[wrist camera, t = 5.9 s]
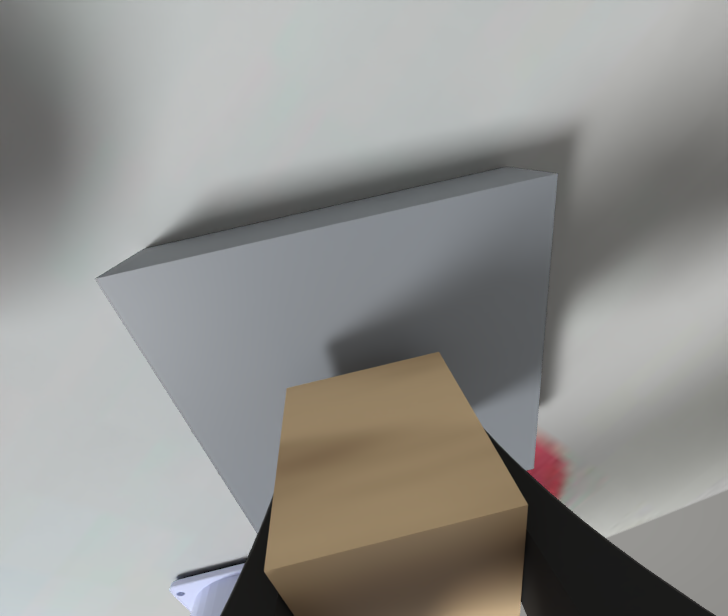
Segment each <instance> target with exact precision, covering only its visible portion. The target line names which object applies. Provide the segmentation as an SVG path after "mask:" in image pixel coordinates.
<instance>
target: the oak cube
mask: <svg viewBox="0 0 728 616" xmlns="http://www.w3.org/2000/svg"><path fill="white" fill-rule="evenodd" d="M527 512H528V504H527V502H526V500H525V499H524V497H523V495H522V493H521V492H520V490H519V488H518V487H517V485H516V483H515V481H514V480H513V478H512V476H511V475H510V473H509V471H508V469H507V468H506V466H505V464H504V463H503V461H502V459H501V457H500V456H499V454H498V452H497V451H496V449H495V447H494V445H493V444H492V442H491V440H490V438H489V437H488V435H487V433H486V432H485V430H484V428H483V426H482V425H481V423H480V421H479V420H478V418H477V416H476V414H475V413H474V411H473V409H472V408H471V406H470V404H469V402H468V401H467V399H466V397H465V396H464V394H463V392H462V390H461V389H460V387H459V385H458V384H457V382H456V380H455V378H454V377H453V375H452V373H451V372H450V370H449V368H448V366H447V365H446V363H445V361H444V359H443V358H442V356H441V354H440V353H439V352H436V353H431V354H427V355H423V356H419V357H415V358H411V359H406V360H402V361H398V362H394V363H390V364H385V365H381V366H377V367H373V368H369V369H365V370H360V371H356V372H352V373H348V374H344V375H339V376H335V377H331V378H327V379H323V380H319V381H314V382H310V383H306V384H302V385H298V386H294V387H289V388H287V389H286V397H285V405H284V414H283V422H282V430H281V438H280V446H279V454H278V462H277V470H276V478H275V486H274V494H273V502H272V510H271V519H270V527H269V535H268V543H267V551H266V559H265V567H264V572H265V574H266V575H267V577H268V578H269V580H270V581H271V582H272V584H273V585H274V587H275V588H276V590H277V591H278V593H279V594H280V596H281V597H282V598H283V600H284V601H285V603H286V604H287V606H288V607H289V609H290V610H291V612H292V613H293V614H294V616H520V605H521V591H522V578H523V565H524V552H525V539H526V525H527Z"/></svg>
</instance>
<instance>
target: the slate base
mask: <svg viewBox="0 0 728 616" xmlns="http://www.w3.org/2000/svg"><path fill="white" fill-rule="evenodd" d="M557 178H558V173H551V172H544V171H536V170H528V169H520V168H513V167H503V168H499V169H494V170H490V171H485V172H481V173H476V174H472V175H468V176H463V177H459V178H454V179H450V180H446V181H441V182H437V183H432V184H428V185H423V186H419V187H415V188H410V189H406V190H401V191H397V192H393V193H388V194H384V195H379V196H375V197H371V198H366V199H362V200H357V201H353V202H348V203H344V204H340V205H335V206H331V207H326V208H322V209H318V210H313V211H309V212H304V213H300V214H295V215H291V216H287V217H282V218H278V219H273V220H269V221H265V222H260V223H256V224H251V225H247V226H242V227H238V228H234V229H229V230H225V231H220V232H216V233H212V234H207V235H203V236H198V237H194V238H189V239H185V240H181V241H176V242H172V243H167V244H163V245H159V246H154V247H150V248H145V249H143V250H141V251H139V252H138V253H136V254H134V255H133V256H131V257H130V258H128V259H126V260H125V261H123V262H121V263H120V264H118V265H116V266H115V267H113V268H112V269H110V270H108V271H107V272H105V273H103V274H102V275H100V276H99V277H97V278H95V280H96V282H97V283H98V285H99V286H100V288H101V290H102V291H103V293H104V294H105V296H106V297H107V299H108V300H109V302H110V304H111V305H112V307H113V308H114V310H115V311H116V313H117V315H118V316H119V318H120V319H121V321H122V322H123V324H124V326H125V327H126V329H127V330H128V332H129V333H130V335H131V337H132V338H133V340H134V341H135V343H136V344H137V346H138V348H139V349H140V351H141V352H142V354H143V355H144V357H145V358H146V360H147V362H148V363H149V365H150V366H151V368H152V369H153V371H154V373H155V374H156V376H157V377H158V379H159V380H160V382H161V384H162V385H163V387H164V388H165V390H166V391H167V393H168V395H169V396H170V398H171V399H172V401H173V402H174V404H175V406H176V407H177V409H178V410H179V412H180V413H181V415H182V416H183V418H184V420H185V421H186V423H187V424H188V426H189V427H190V429H191V431H192V432H193V434H194V435H195V437H196V438H197V440H198V442H199V443H200V445H201V446H202V448H203V449H204V451H205V453H206V454H207V456H208V457H209V459H210V460H211V462H212V464H213V465H214V467H215V468H216V470H217V471H218V473H219V475H220V476H221V478H222V479H223V481H224V482H225V484H226V485H227V487H228V489H229V490H230V492H231V493H232V495H233V496H234V498H235V500H236V501H237V503H238V504H239V506H240V507H241V509H242V511H243V512H244V514H245V515H246V517H247V518H248V520H249V522H250V523H251V525H252V526H253V528H254V529H255V531H256V533H257V534H258V532H259V529H260V527H261V524H262V522H263V520H264V517H265V515H266V512H267V509H268V507H269V504H270V502H271V499H272V496H273V493H274V486H275V478H276V470H277V462H278V454H279V446H280V438H281V430H282V422H283V414H284V405H285V397H286V389H287V388H289V387H294V386H298V385H302V384H306V383H310V382H314V381H319V380H323V379H327V378H331V377H335V376H339V375H344V374H348V373H352V372H356V371H360V370H365V369H369V368H373V367H377V366H381V365H385V364H390V363H394V362H398V361H402V360H406V359H411V358H415V357H419V356H423V355H427V354H431V353H436V352H439V353H440V354H441V356H442V358H443V359H444V361H445V363H446V365H447V366H448V368H449V370H450V372H451V373H452V375H453V377H454V378H455V380H456V382H457V384H458V385H459V387H460V389H461V390H462V392H463V394H464V396H465V397H466V399H467V401H468V402H469V404H470V406H471V408H472V409H473V411H474V413H475V414H476V416H477V418H478V420H479V421H480V423H481V425H482V426H483V428H484V429H485V430H486V431H487V432H488V433H489V434H490V435H491V436H492V438H493V439H494V440H495V441H496V442H497V443H498V444H499V445H500V446H501V447H502V448H503V449H504V450H505V451H506V452H507V453H508V454H509V455H510V456H511V457H512V458H513V459H514V460H515V461H516V462H517V463H518V464H519V465H520V466H521V467H522V468H524V469H525V470H530V469H534V458H535V446H536V434H537V421H538V409H539V397H540V385H541V373H542V361H543V348H544V336H545V324H546V312H547V300H548V288H549V275H550V263H551V251H552V239H553V227H554V214H555V202H556V190H557Z"/></svg>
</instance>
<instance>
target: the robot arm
mask: <svg viewBox="0 0 728 616" xmlns="http://www.w3.org/2000/svg"><path fill="white" fill-rule="evenodd" d="M484 430H485V429H484ZM485 432H486V433H487V435H488V437H489V438H490V440H491V442H492V444H493V445H494V447H495V449H496V451H497V452H498V454H499V456H500V457H501V459H502V461H503V463H504V464H505V466H506V468H507V469H508V471H509V473H510V475H511V476H512V478H513V480H514V481H515V483H516V485H517V487H518V488H519V490H520V492H521V493H522V495H523V497H524V499H525V500H526V502H527V504H528V512H527V525H526V539H525V552H524V565H523V578H522V591H521V602H522V605H523V607H524V609H525V612H526V614H527V616H716V615H714V614H713V613H711V612H710V611H708V610H706V609H705V608H703V607H702V606H700V605H699V604H697V603H696V602H695V601H693V600H692V599H690V598H689V597H687V596H686V595H684V594H683V593H681V592H680V591H678V590H677V589H676V588H674V587H673V586H671V585H670V584H668V583H667V582H665V581H664V580H662V579H661V578H660V577H658V576H656V575H655V574H654V573H652V572H651V571H649V570H648V569H646V568H645V567H644V566H642V565H641V564H639V563H638V562H637V561H635V560H634V559H633V558H631V557H630V556H629V555H627V554H626V553H625V552H623V551H622V550H620V549H619V548H618V547H616V546H615V545H614V544H612V543H611V542H609V540H607V539H606V538H605V537H603V536H602V535H601V534H599V533H598V532H597V531H596V530H594V529H593V528H592V527H590V526H589V525H588V524H587V523H585V522H584V521H583V520H582V519H581V518H579V517H578V516H577V515H576V514H574V513H573V512H572V511H571V510H570V509H568V508H567V507H566V506H565V505H564V504H563V503H561V502H560V501H559V500H558V499H557V498H556V497H554V496H553V495H552V494H551V493H550V492H549V491H548V490H546V489H545V488H544V487H543V486H542V485H541V484H540V483H539V482H538V481H536V480H535V479H534V478H533V477H532V476H531V475H530V474H529V473H528V472H527V471H526V470H525V469H524V468H522V467H521V466H520V465H519V464H518V463H517V462H516V461H515V460H514V459H513V458H512V457H511V456H510V455H509V454H508V453H507V452H506V451H505V450H504V449H503V448H502V447H501V446H500V445H499V444H498V443H497V442H496V441H495V440H494V439H493V438H492V436H491V435H490V434H489V433H488V432H487V431H486V430H485ZM273 494H274V493H273ZM272 502H273V496H272V499H271V502H270V504H269V507H268V509H267V512H266V515H265V517H264V520H263V522H262V524H261V527H260V529H259V532H258V534H257V537H256V539H255V541H254V544H253V546H252V549H251V551H250V553H249V556H248V558H247V560H246V562H245V563H243V564H239V565H235V566H231V567H227V568H223V569H219V570H215V571H211V572H207V573H203V574H199V575H195V576H191V577H187V578H183V579H179V580H175V581H173V582H172V583H171V586H170V589H169V591H170V592H171V593H172V594H173V595H174V596H175V597H176V598H177V599H178V600H179V601H180V602H181V603H182V604H183V605H184V606H185V607H186V608H187V609H188V610H189V611H190V612H191V615H190V616H294V614H293V613H292V612H291V610H290V609H289V607H288V606H287V604H286V603H285V601H284V600H283V598H282V597H281V596H280V594H279V593H278V591H277V590H276V588H275V587H274V585H273V584H272V582H271V581H270V580H269V578H268V577H267V575H266V574H265V572H264V567H265V559H266V551H267V543H268V535H269V527H270V519H271V510H272Z"/></svg>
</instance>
